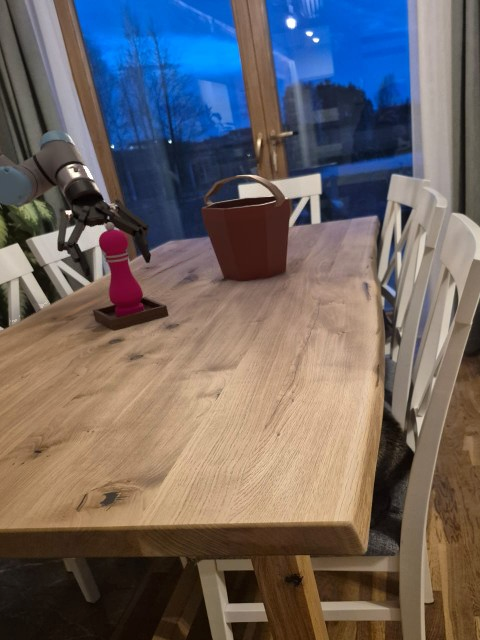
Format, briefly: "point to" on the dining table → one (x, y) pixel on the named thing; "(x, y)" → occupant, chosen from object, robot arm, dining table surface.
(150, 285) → the dining table surface
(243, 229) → the bucket
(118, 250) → the pepper mill
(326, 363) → the dining table surface
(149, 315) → the base tray
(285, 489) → the dining table surface
